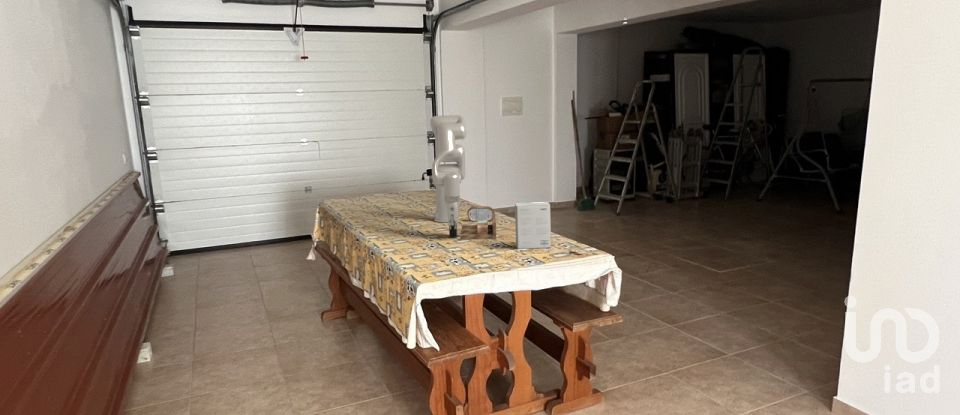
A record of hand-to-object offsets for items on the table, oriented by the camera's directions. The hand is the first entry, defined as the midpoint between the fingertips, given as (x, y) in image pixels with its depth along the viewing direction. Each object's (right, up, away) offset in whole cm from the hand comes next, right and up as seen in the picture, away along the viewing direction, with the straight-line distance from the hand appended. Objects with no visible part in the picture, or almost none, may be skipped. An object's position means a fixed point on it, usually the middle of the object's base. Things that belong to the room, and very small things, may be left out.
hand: (453, 235), depth 290 cm
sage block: (+15, +1, +11) cm, 18 cm away
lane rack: (+12, +1, +5) cm, 13 cm away
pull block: (+8, -1, 0) cm, 8 cm away
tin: (+14, +6, +34) cm, 38 cm away
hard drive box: (+37, -4, -22) cm, 43 cm away
